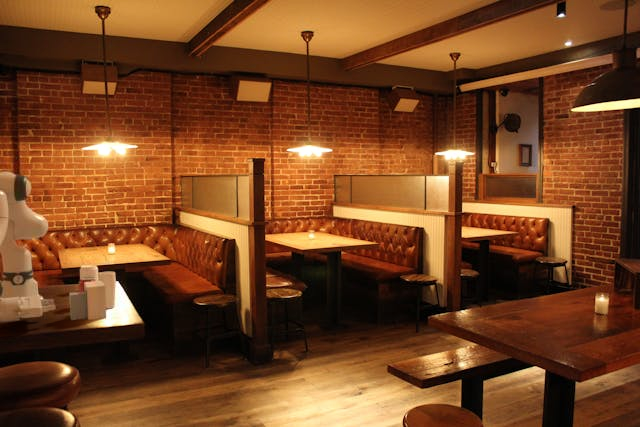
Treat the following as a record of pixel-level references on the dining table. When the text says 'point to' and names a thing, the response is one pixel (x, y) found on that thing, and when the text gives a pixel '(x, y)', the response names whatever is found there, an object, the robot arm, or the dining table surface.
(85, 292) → the charger
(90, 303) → the socket block
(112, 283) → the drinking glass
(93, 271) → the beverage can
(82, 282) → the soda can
